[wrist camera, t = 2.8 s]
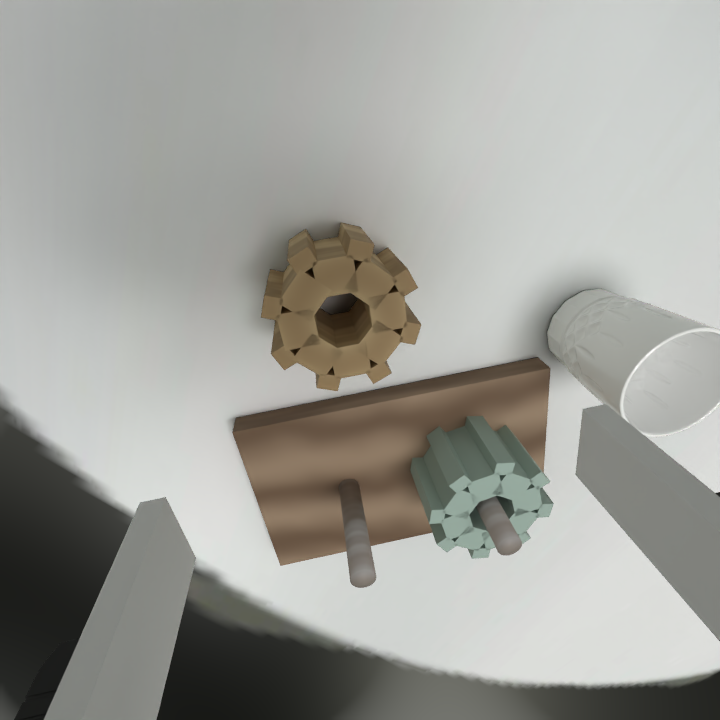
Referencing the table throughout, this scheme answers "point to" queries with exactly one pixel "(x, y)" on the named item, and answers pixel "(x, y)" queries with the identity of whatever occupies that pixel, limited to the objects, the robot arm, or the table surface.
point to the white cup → (639, 359)
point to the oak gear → (344, 330)
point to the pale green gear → (477, 484)
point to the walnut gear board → (379, 460)
